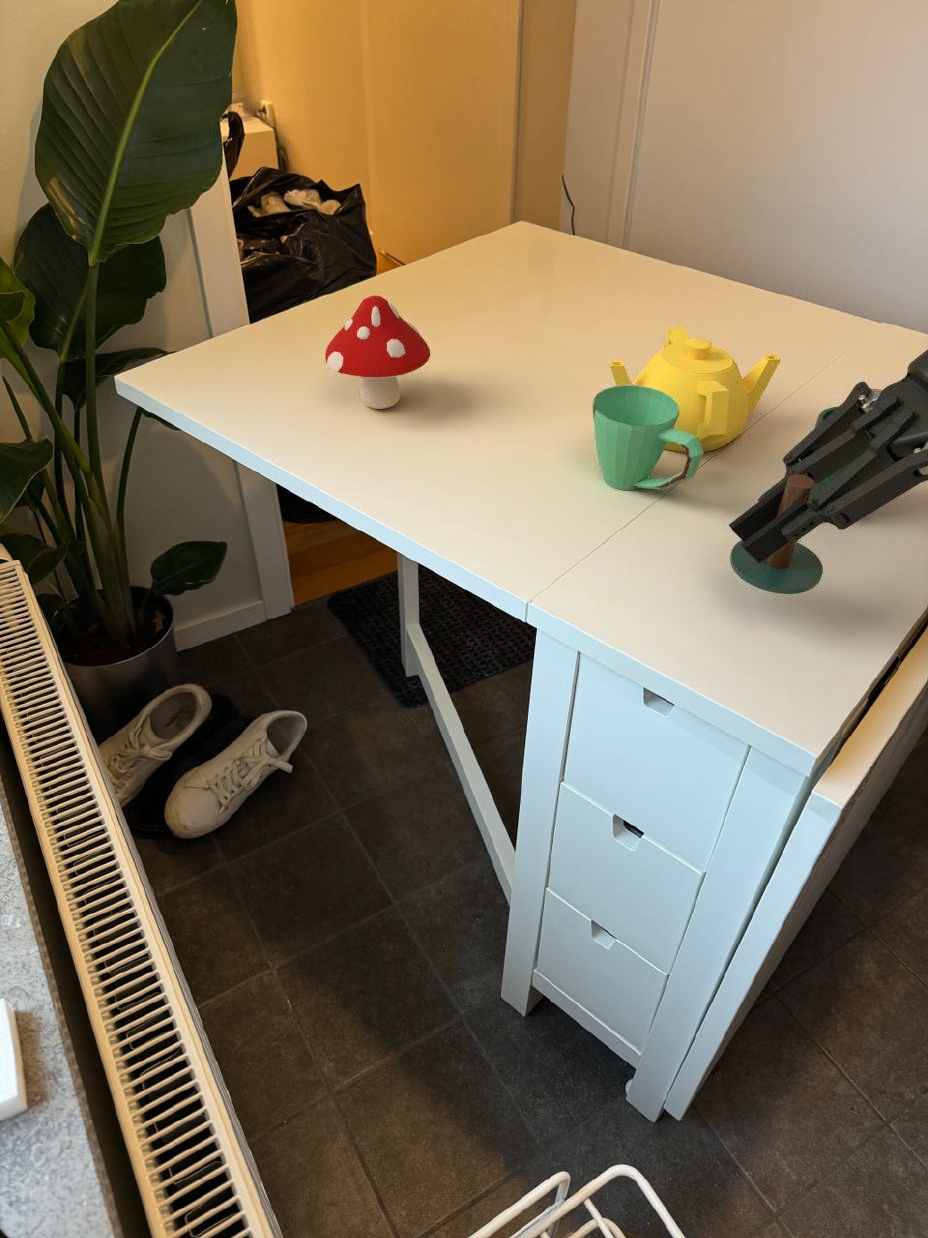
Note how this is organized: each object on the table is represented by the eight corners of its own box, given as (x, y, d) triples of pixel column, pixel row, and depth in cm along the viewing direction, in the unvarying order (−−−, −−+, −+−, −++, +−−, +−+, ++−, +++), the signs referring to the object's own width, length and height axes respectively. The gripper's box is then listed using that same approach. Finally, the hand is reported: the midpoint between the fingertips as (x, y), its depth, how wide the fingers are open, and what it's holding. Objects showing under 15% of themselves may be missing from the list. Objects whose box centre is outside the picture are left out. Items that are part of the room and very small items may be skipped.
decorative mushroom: (356, 440, 114) (347, 327, 104) (310, 396, 123) (298, 288, 113) (449, 413, 120) (450, 303, 110) (399, 373, 128) (396, 267, 119)
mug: (566, 476, 108) (575, 401, 102) (620, 449, 113) (632, 376, 107) (659, 530, 100) (675, 453, 94) (713, 500, 105) (732, 424, 99)
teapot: (659, 386, 127) (673, 303, 119) (769, 424, 119) (792, 338, 111) (596, 431, 117) (607, 344, 109) (711, 475, 109) (732, 385, 101)
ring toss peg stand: (839, 582, 85) (873, 492, 79) (772, 609, 82) (801, 517, 75) (775, 536, 91) (801, 448, 84) (710, 559, 88) (732, 470, 81)
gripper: (1049, 440, 71) (798, 616, 80) (941, 357, 83) (733, 518, 91) (1017, 382, 67) (756, 574, 76) (908, 303, 78) (693, 477, 87)
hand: (744, 543), depth 84 cm, fingers closed on ring toss peg stand, 2 cm apart
